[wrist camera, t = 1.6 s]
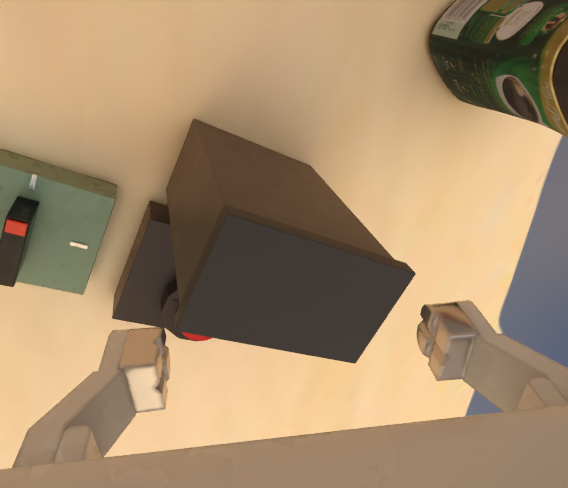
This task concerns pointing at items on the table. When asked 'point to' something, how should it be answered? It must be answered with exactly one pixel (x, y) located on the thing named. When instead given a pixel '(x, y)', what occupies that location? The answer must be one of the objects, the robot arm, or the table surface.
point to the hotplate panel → (57, 220)
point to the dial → (16, 238)
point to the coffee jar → (507, 57)
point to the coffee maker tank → (273, 252)
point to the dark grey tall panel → (150, 275)
